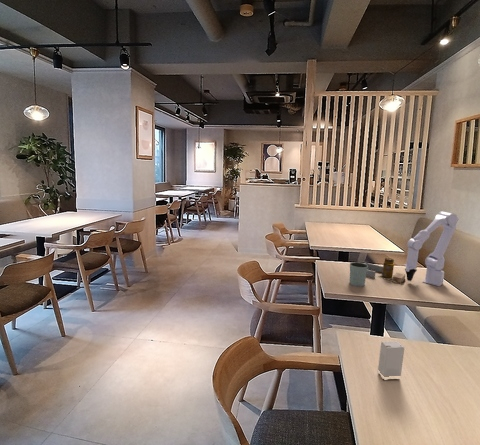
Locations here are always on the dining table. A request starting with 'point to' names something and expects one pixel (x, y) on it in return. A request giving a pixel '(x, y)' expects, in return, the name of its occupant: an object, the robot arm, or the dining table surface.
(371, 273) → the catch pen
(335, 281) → the dining table surface
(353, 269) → the green tapered cup
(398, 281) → the tan rectangular block
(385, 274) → the condiment
